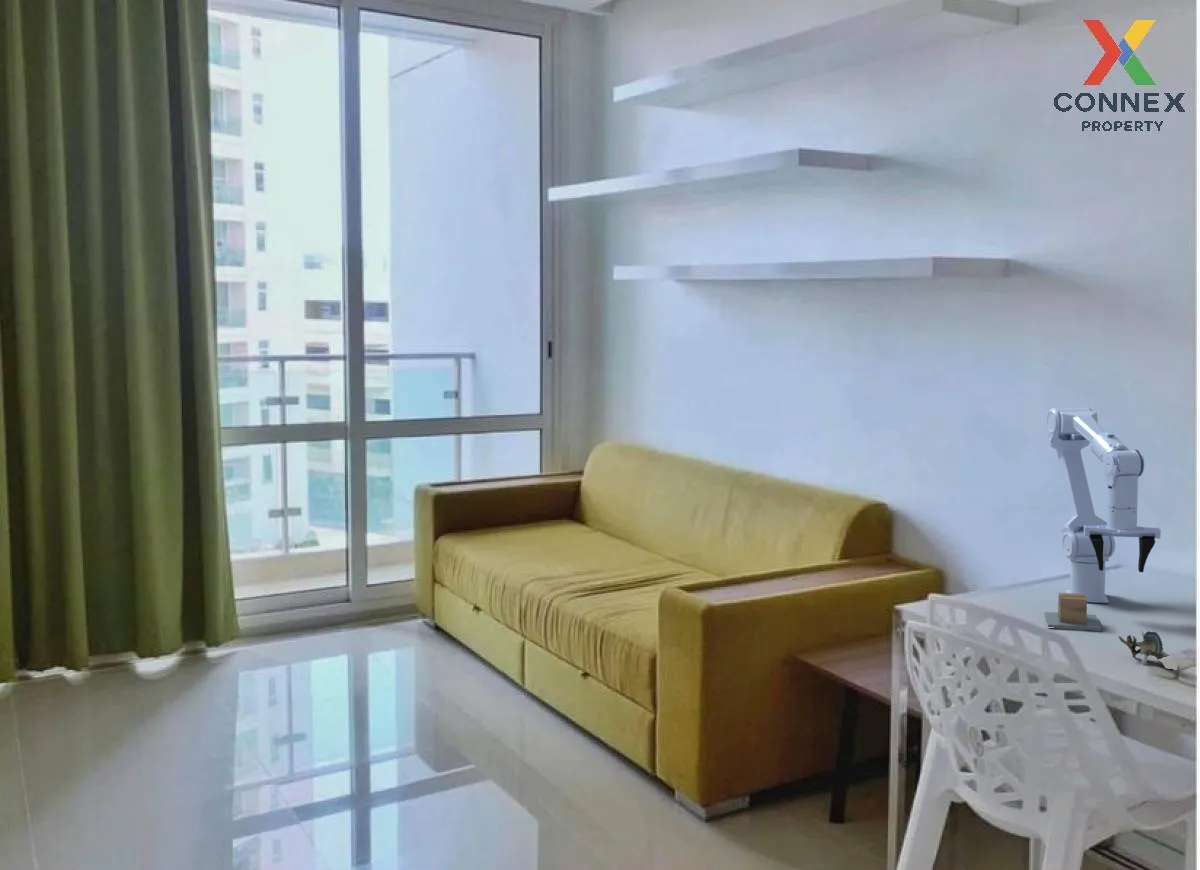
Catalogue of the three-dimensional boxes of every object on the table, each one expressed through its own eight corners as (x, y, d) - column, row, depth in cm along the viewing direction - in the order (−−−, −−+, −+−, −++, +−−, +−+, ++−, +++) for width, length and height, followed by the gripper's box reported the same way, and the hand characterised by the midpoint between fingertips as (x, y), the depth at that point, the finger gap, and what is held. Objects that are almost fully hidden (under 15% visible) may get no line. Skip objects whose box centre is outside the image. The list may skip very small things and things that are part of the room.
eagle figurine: (1112, 656, 202) (1158, 659, 195) (1121, 620, 205) (1166, 622, 197) (1137, 672, 205) (1183, 676, 198) (1145, 637, 208) (1191, 639, 200)
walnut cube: (1058, 615, 231) (1058, 592, 231) (1083, 617, 230) (1084, 593, 229) (1060, 621, 227) (1060, 598, 226) (1086, 623, 225) (1086, 599, 225)
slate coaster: (1044, 615, 235) (1044, 612, 234) (1095, 618, 231) (1095, 614, 231) (1048, 628, 225) (1048, 624, 225) (1101, 631, 222) (1101, 627, 222)
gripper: (1086, 509, 229) (1085, 573, 230) (1163, 511, 224) (1162, 576, 226) (1083, 503, 235) (1082, 565, 237) (1158, 505, 231) (1156, 568, 232)
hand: (1120, 570), depth 232 cm, fingers open, 7 cm apart
